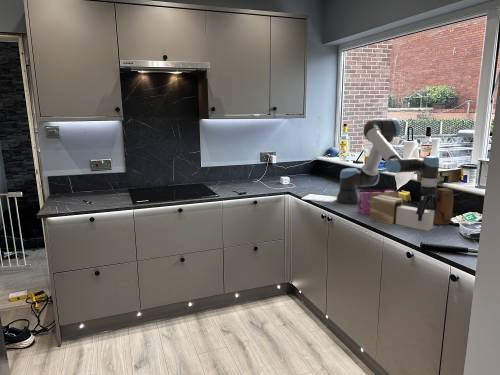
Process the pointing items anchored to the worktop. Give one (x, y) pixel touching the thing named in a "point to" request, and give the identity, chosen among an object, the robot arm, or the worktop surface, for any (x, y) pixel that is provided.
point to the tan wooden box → (384, 208)
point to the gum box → (368, 194)
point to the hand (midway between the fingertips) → (425, 223)
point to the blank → (414, 218)
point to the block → (443, 206)
